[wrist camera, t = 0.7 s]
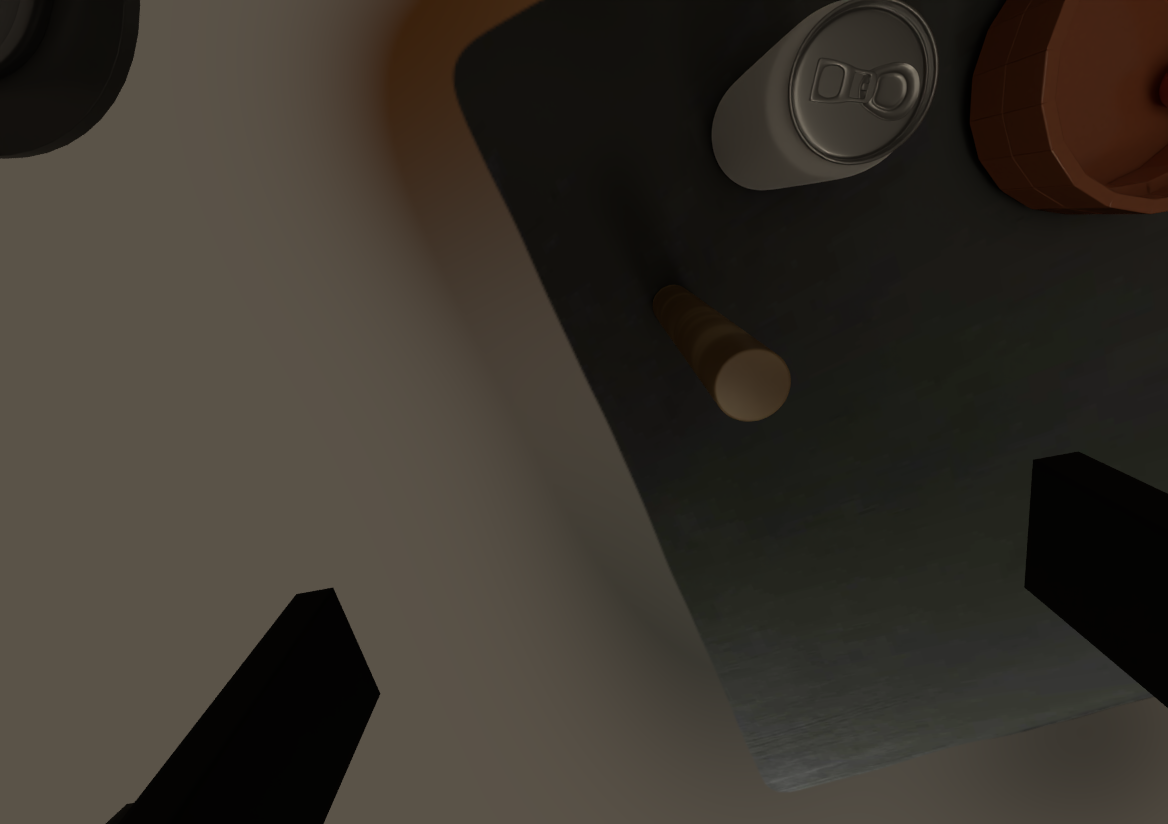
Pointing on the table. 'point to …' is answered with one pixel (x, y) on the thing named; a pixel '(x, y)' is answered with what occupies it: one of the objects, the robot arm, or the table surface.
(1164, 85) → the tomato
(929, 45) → the can
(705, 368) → the stick
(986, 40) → the stir bowl
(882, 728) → the table surface
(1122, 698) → the table surface
